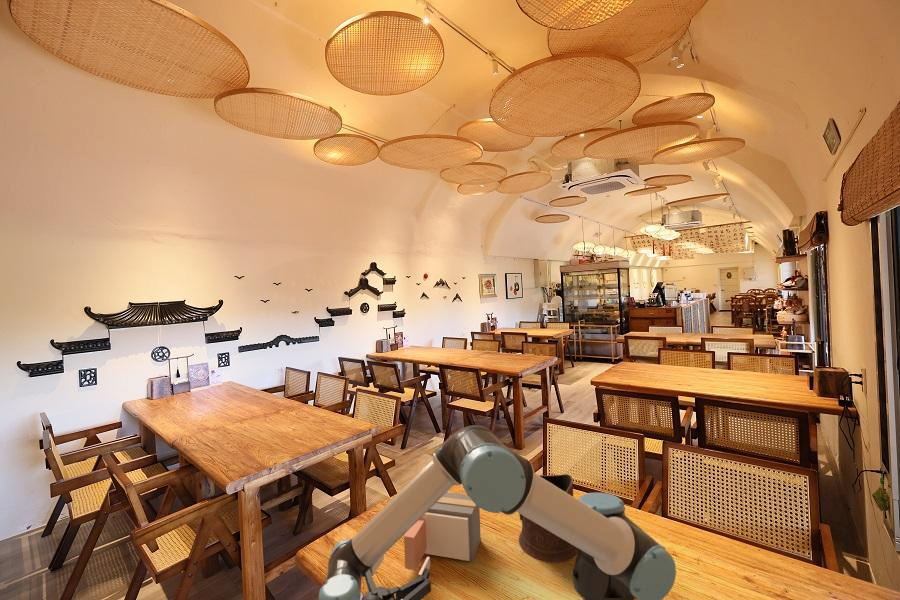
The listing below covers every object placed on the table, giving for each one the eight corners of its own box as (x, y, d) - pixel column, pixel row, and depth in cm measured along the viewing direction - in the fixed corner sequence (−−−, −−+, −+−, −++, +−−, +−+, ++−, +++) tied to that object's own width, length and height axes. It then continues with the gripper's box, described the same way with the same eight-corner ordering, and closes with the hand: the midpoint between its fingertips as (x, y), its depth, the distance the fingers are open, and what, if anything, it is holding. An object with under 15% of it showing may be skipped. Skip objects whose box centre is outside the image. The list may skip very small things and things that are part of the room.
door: (469, 558, 109) (468, 517, 109) (461, 584, 99) (459, 539, 99) (418, 550, 113) (417, 510, 113) (405, 573, 104) (403, 530, 104)
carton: (481, 540, 118) (479, 495, 118) (474, 562, 109) (472, 513, 109) (426, 532, 123) (425, 488, 123) (415, 552, 114) (413, 505, 114)
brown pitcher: (584, 566, 105) (581, 478, 105) (498, 558, 110) (495, 473, 110) (575, 526, 123) (573, 451, 123) (502, 520, 128) (499, 448, 128)
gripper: (318, 629, 85) (364, 564, 105) (420, 654, 78) (449, 579, 98) (316, 596, 85) (363, 537, 105) (419, 618, 78) (448, 551, 98)
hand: (405, 557), depth 102 cm, fingers open, 13 cm apart
